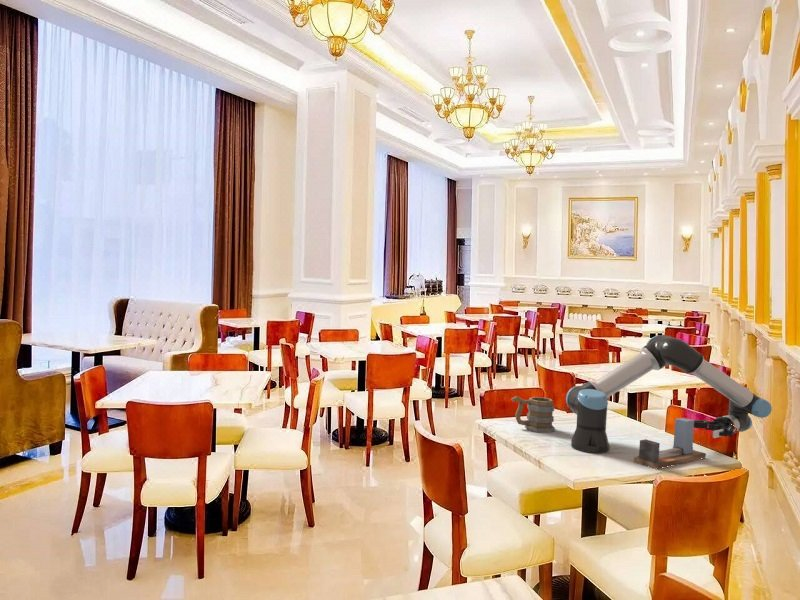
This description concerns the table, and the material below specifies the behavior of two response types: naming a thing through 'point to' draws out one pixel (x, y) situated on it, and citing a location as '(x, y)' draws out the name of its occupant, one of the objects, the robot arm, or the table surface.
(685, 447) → the sleeve
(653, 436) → the table surface
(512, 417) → the table surface
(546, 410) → the tankard
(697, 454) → the rail board
